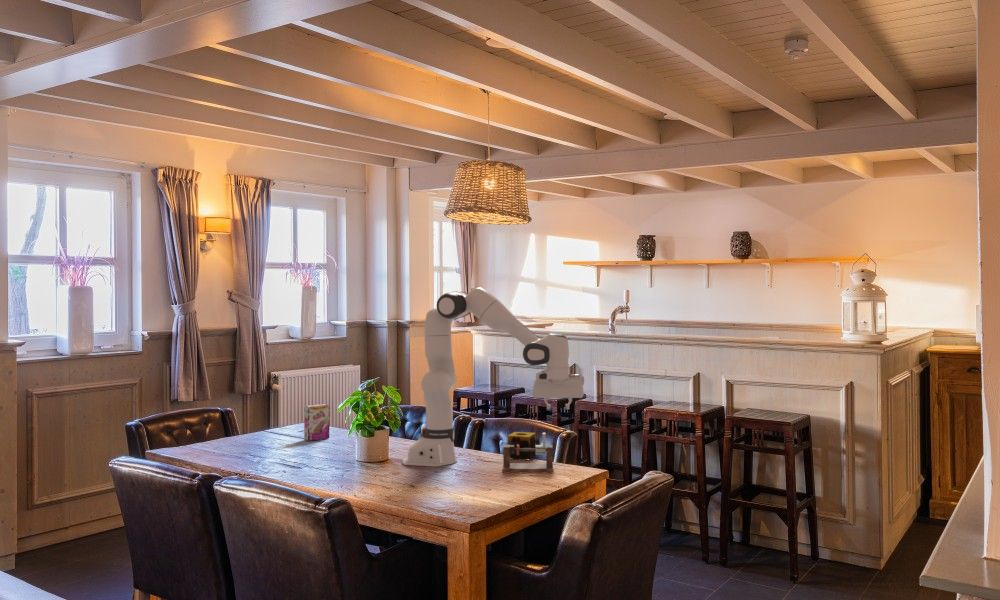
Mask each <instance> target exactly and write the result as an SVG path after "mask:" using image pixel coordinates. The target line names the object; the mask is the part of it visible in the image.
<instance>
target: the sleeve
mask: <svg viewBox="0 0 1000 600" xmlns="http://www.w3.org/2000/svg"><path fill="white" fill-rule="evenodd" d="M546 434H547V433H546V432H542V444H536V448H546V445H547V443H546V441H547V439H546ZM538 455H539V456H541V455H542V456H543V455H544V456H546V449H536V456H538Z"/></svg>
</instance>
